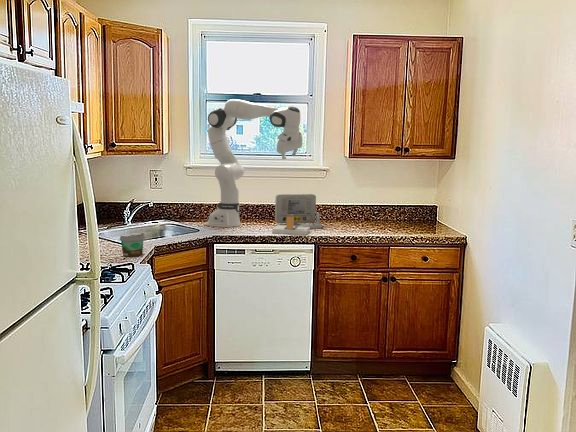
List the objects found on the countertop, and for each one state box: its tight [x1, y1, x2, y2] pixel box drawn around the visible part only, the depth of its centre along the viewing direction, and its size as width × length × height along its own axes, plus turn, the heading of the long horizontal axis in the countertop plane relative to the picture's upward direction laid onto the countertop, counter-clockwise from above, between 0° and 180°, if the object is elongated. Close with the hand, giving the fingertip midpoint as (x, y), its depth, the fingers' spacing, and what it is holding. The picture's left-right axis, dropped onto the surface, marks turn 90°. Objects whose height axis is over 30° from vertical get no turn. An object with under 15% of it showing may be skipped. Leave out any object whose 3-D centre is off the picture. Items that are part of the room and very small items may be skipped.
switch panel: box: [271, 224, 311, 236], centre depth 327 cm, size 20×14×3 cm
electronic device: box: [299, 211, 323, 230], centre depth 343 cm, size 5×10×15 cm
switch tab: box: [286, 214, 294, 229], centre depth 323 cm, size 4×3×8 cm
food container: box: [119, 232, 146, 258], centre depth 256 cm, size 12×6×10 cm, turn 138°
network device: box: [274, 193, 317, 226], centre depth 350 cm, size 26×9×20 cm, turn 105°
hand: (288, 157), depth 327 cm, fingers open, 8 cm apart
